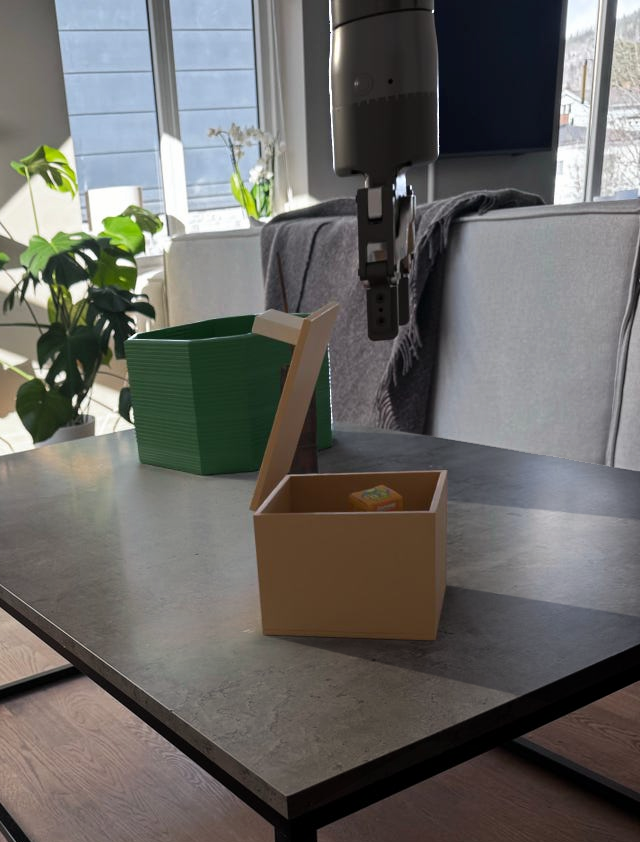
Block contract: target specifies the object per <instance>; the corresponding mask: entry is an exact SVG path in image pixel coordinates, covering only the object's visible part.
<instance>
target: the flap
mask: <svg viewBox="0 0 640 842" xmlns="http://www.w3.org/2000/svg"><path fill="white" fill-rule="evenodd" d="M340 306H341V302H340V301H337V300H333V301H331V302H329V303H327V304H326V305H324V306H322V307H321V308H319V309H317V310H315V311H314V312H312V313H313V314H311V315H309V316H308V317H306V318H301V317H298V316H294V315H291V314H287V313H285V311H280V310H277V309H275V308H274V309H273V308H270V309H268V310H266V311H263V312H262V313H259V314H260V315H258V316H256V317H255V321H254V324H253V328H252V332H254V333H257V334H260V335H264V336H267V337H270V338H274V339H277V340H280V341H284V342H287V343H290V344H293V345H296V347H295V351H294V354H293V358H292V361H291V365H290V368H289V372H288V375H287V379H286V382H285V386H284V389H283V393H282V396H281V400H280V403H279V407H278V410H277V414H276V417H275V421H274V424H273V428H272V431H271V435H270V438H269V441H268V445H267V448H266V452H265V455H264V459H263V462H262V466H261V469H259V473H258V477H257V481H256V483H255V487H254V491H253V495H252V497H251V501H250V505H249V509H248V510H249V511H251V512H254V513H255V512H256V511H257V510H258V509H259V508H260V506H261V505H262V504H263V503H264V501H265V500H266V499H267V498H268V497H269V495H270V494H271V493H272V492H273V491H274V489H275V488H276V487H277V486H278V484H279V483H280V482H281V481H282V480H283V478H284V477H285V476H286V475H287V474H288V472H289V470H290V467H291V464H292V460H293V457H294V454H295V451H296V447H297V444H298V441H299V437H300V434H301V431H302V427H303V424H304V421H305V418H306V414H307V411H308V408H309V404H310V401H311V398H312V395H313V391H314V388H315V385H316V381H317V378H318V375H319V372H320V368H321V365H322V362H323V358H324V355H325V352H326V348H327V345H328V342H329V343H330V339H331V335H332V331H333V329H334V325H335V322H336V318H337V315H338V311H339V309H340Z"/></svg>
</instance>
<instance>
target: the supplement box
mask: <svg viewBox="0 0 640 842" xmlns="http://www.w3.org/2000/svg"><path fill="white" fill-rule="evenodd" d="M349 508H350V512H399V511H403V500H402V496H401V495H399V494H398V493H396V492H395V491H393V490H391V489H389V488H387V487H386V486H384V485H380V486H377V487H376V488H372V489H368V490H365V491H361V492H355V493H352V494H350V495H349Z"/></svg>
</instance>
